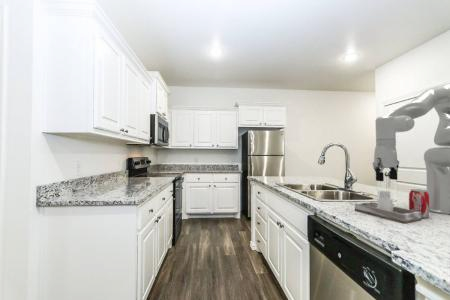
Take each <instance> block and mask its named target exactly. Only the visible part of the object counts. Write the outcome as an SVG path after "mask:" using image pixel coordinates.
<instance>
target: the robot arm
mask: <svg viewBox="0 0 450 300" xmlns="http://www.w3.org/2000/svg"><path fill="white" fill-rule="evenodd" d="M432 109H434V110H435V111H436V113H437V115H438V117H439V121H438V124H437V128H436V131H435V133H434V136H433V137H434V138H433V143H434V144H435V146H437V147H432V148H428V149H427V150H425V151H424V154H423V160H424V165H425V171H426V172H425V173H426V190H427V193H428V194H429V213H430V212H431V213H436V214H442V215H450V83H447V84H446V83H445V84H441V85H438V86H434V87H433V86H432V87H430V88H428V89H425V90H424V91H422V93H420V94H419V95H418V96H417V97H415V98H414V99H412V100H411V101H410V102H408V103H405V104H404V105H402V106H400V107H399V108H396V109H394V110H392V111H391V112H389V113H387V114H386V115H385V116H384V115H383V116H377V117H376V118H375V148H374V152H373V153H374V154H373V162H372V168H373V169H374V172H375V181H376V182H385V181H384V179H385V177H384V176H385V175H384V172H383V171H384V169H389V172H388V173H389V175H388V176H389V180H395V181H397V180H398V171H399V166H400V161H399V159H398V153H397V148H396V147H397V140H396V138H397V136H396V134H397V133H405V132H409V131H411V130H412V129H413V128H414V127H415V120H414V119H418V118H420V117H422V116H425V115H427V114H428V113H429V112H430V111H432Z"/></svg>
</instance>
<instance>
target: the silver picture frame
mask: <svg viewBox="0 0 450 300" xmlns="http://www.w3.org/2000/svg"><path fill="white" fill-rule="evenodd" d="M354 211H355V212H358V213H362V214H366V215H368V216H369V215H370V216H374V217H377V218H381V219H385V220H389V221H392V222H397V223H401V224H409V223H415V222H420V221H422V219H423V218H422V215H421V212H418V211H413V210H409V208H404V207H398V206H394V208H393V212H391V211H387V210H383V209H378V208H377V202H374V201H373V202H372V201H366V202H357V203H354Z"/></svg>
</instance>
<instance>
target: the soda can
mask: <svg viewBox="0 0 450 300" xmlns="http://www.w3.org/2000/svg"><path fill="white" fill-rule="evenodd" d="M408 210H413V211H418V212H421V215H422V219H427V218H429V216H430V211H429V194H428V193H427V189H419V188H412V189H410V191H409V193H408Z"/></svg>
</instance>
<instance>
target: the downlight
mask: <svg viewBox="0 0 450 300" xmlns="http://www.w3.org/2000/svg"><path fill="white" fill-rule="evenodd" d="M391 196H392V195H391V191H390V190H388V191H387V190H378V197H377V198H376V203H377V208H378V209H383V210H387V211H391V212H393V208H394V207H395V206H394V203H393V199H392V198H391Z"/></svg>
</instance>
